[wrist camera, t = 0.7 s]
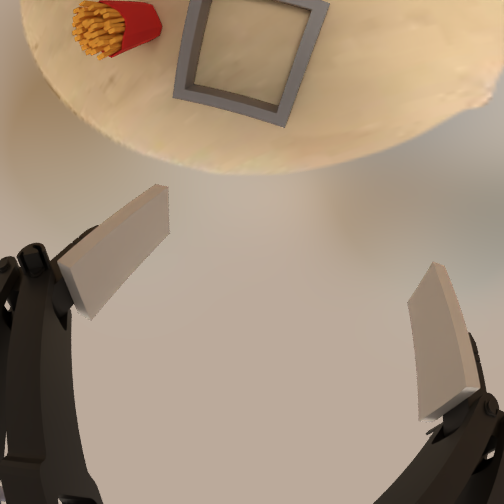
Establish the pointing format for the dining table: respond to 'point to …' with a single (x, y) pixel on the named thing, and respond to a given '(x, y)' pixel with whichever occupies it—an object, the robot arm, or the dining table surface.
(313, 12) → the gray square frame
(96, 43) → the french fries
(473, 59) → the dining table surface
